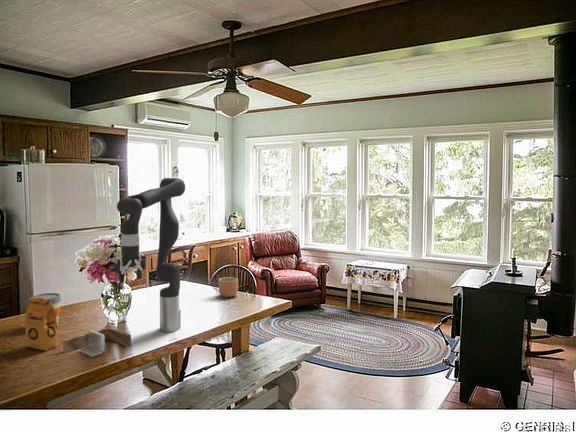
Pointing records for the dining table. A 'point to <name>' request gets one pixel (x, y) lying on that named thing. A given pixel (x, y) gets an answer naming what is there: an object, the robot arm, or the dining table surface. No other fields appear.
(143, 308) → the dining table surface
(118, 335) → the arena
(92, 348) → the angle bracket
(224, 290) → the planter
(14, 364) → the dining table surface
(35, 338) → the coffee package
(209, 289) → the dining table surface
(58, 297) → the reusable coffee cup
